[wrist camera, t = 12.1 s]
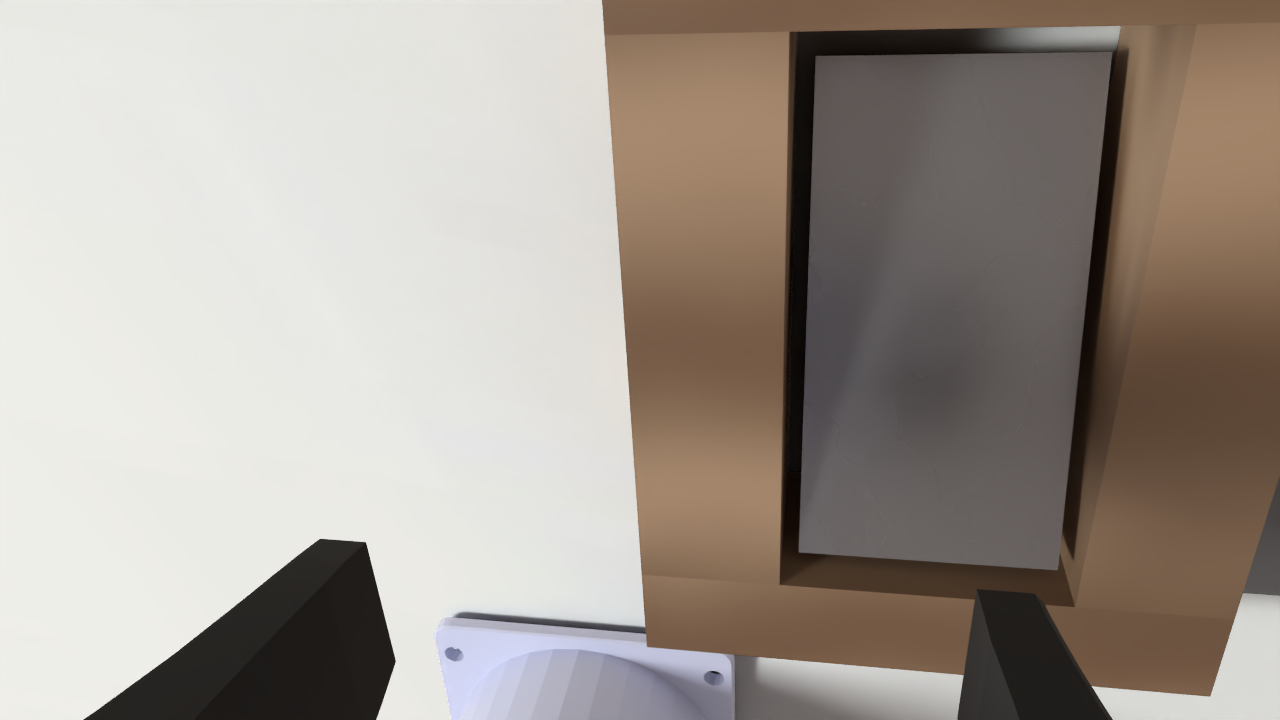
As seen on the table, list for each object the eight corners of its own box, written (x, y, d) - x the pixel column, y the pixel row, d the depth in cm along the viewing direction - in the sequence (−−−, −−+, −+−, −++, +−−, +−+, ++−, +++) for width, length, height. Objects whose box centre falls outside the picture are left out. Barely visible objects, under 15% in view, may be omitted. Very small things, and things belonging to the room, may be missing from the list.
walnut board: (640, -133, 18) (594, -112, 14) (1344, -166, 16) (1476, -151, 12) (672, 532, 25) (647, 647, 21) (1157, 565, 23) (1210, 696, 20)
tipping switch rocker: (816, 56, 18) (815, 55, 18) (1105, 52, 17) (1112, 51, 17) (799, 543, 20) (798, 552, 20) (1053, 560, 19) (1058, 570, 19)
